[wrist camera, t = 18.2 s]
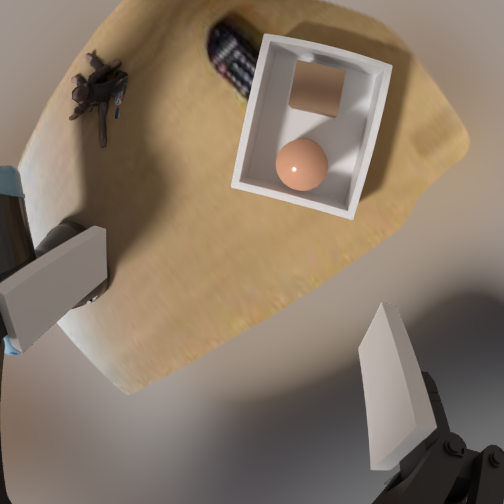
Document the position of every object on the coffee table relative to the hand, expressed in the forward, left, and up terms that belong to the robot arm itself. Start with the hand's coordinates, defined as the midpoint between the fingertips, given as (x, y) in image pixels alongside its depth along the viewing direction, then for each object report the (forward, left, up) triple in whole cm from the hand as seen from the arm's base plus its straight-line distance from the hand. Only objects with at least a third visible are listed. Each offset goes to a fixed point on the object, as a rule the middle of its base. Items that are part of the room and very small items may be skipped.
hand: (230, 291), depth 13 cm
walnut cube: (+1, +12, -25) cm, 28 cm away
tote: (+1, +8, -25) cm, 27 cm away
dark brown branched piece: (-29, +8, -26) cm, 40 cm away
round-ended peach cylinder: (+1, +4, -25) cm, 25 cm away
